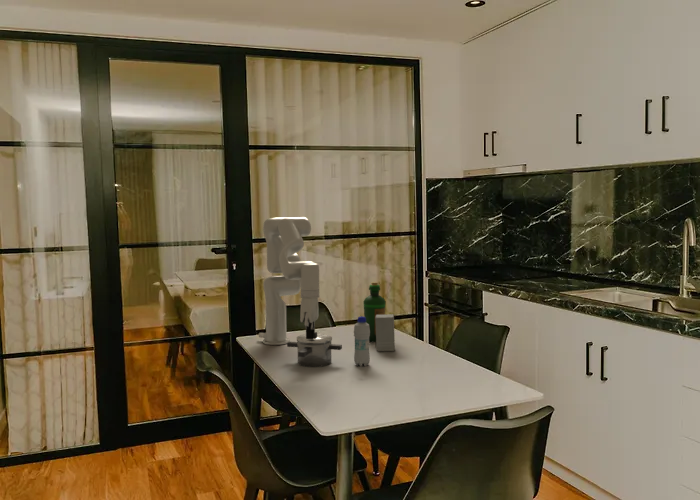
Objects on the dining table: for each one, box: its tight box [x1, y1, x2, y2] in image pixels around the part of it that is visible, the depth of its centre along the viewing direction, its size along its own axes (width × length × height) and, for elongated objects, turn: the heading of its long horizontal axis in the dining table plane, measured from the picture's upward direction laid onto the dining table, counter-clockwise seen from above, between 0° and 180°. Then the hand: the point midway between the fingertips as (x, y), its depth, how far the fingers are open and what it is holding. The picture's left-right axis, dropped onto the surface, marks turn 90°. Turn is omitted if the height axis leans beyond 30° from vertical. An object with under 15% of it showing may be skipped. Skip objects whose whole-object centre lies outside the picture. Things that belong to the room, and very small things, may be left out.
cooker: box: [286, 340, 343, 368], centre depth 248 cm, size 23×24×9 cm
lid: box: [296, 331, 333, 344], centre depth 252 cm, size 15×15×3 cm
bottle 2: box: [363, 281, 386, 343], centre depth 292 cm, size 11×11×28 cm
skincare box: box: [375, 314, 396, 352], centre depth 273 cm, size 8×7×16 cm
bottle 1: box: [353, 315, 371, 367], centre depth 248 cm, size 7×7×20 cm
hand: (310, 338), depth 247 cm, fingers closed
